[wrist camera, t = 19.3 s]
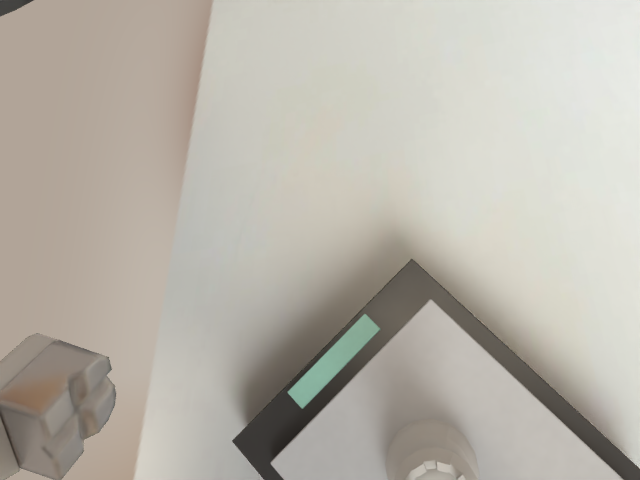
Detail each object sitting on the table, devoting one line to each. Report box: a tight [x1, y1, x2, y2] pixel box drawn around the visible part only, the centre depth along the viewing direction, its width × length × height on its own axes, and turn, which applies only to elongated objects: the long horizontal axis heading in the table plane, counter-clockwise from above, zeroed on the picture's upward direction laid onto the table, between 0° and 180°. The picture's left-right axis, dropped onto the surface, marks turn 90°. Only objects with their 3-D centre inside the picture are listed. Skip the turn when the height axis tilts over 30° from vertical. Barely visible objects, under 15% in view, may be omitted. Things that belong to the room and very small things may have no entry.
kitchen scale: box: [233, 259, 640, 480], centre depth 29 cm, size 16×14×4 cm
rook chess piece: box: [385, 419, 479, 480], centre depth 24 cm, size 4×4×8 cm
